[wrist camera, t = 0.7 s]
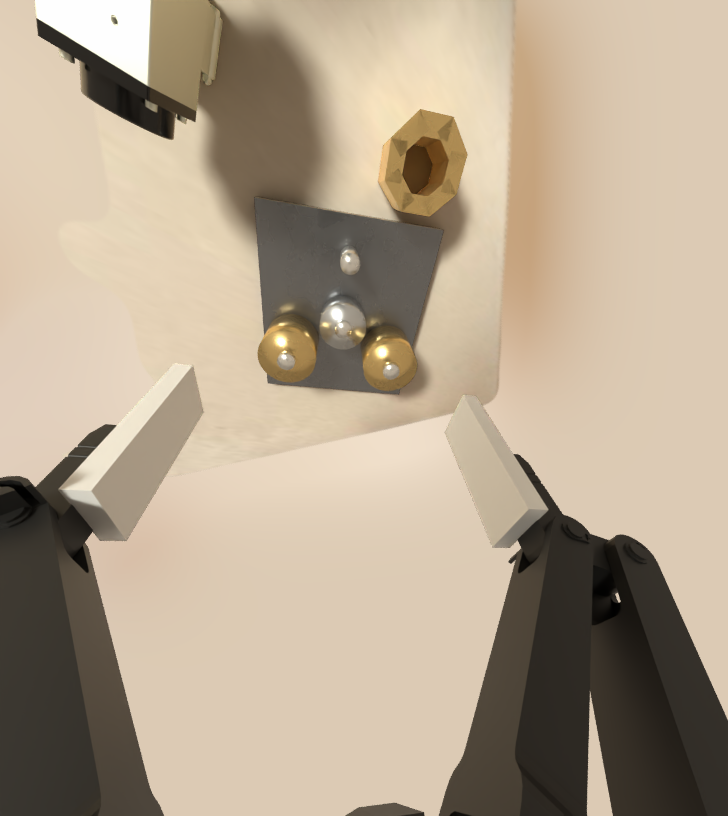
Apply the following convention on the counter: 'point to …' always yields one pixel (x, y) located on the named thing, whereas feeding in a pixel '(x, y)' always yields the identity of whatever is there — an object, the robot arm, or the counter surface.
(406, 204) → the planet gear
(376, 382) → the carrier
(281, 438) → the counter surface
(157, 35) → the pneumatic valve
